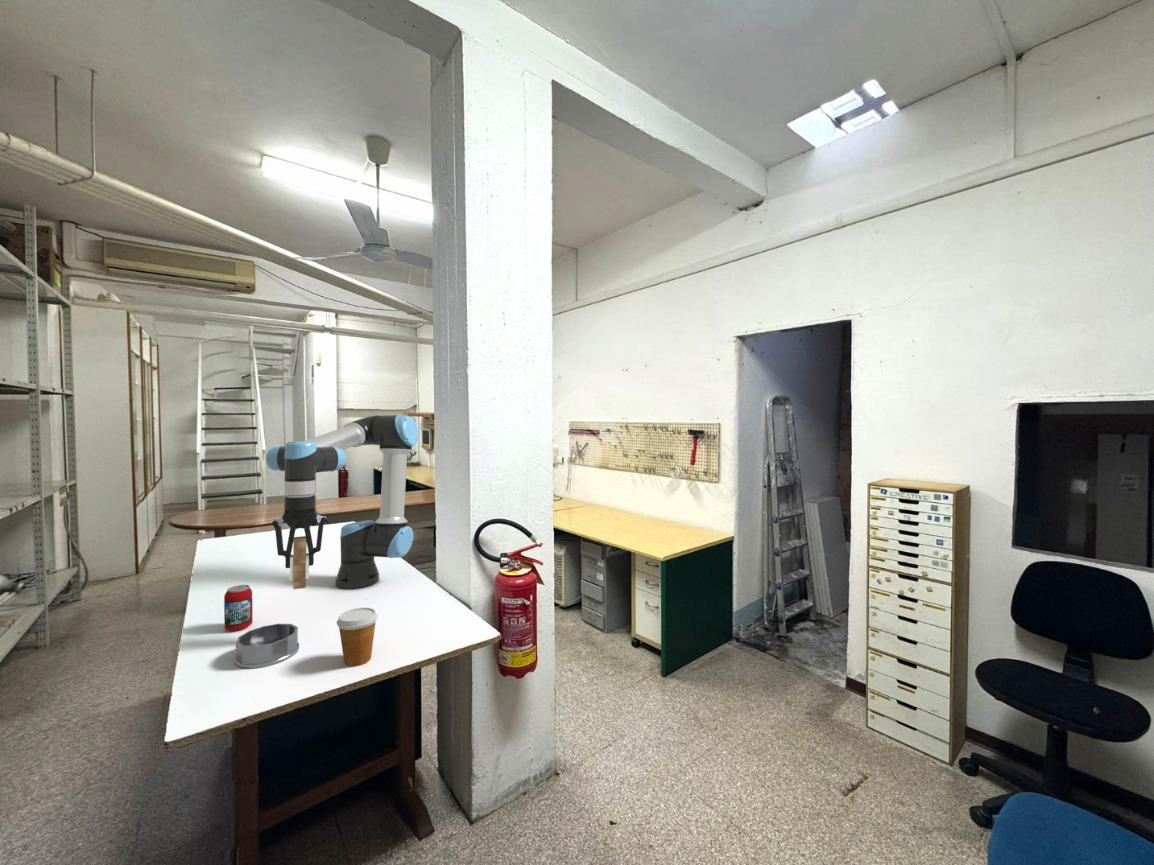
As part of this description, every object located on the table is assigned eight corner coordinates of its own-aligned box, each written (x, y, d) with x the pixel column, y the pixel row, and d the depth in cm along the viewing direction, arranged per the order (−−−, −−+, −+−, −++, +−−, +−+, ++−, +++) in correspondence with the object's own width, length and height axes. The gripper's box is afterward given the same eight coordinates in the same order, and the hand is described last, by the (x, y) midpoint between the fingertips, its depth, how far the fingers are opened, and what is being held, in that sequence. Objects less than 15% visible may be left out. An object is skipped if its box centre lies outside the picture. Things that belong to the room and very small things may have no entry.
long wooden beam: (306, 584, 131) (306, 536, 131) (305, 587, 128) (305, 538, 128) (294, 586, 129) (294, 537, 129) (293, 589, 127) (293, 539, 127)
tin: (300, 637, 129) (300, 619, 129) (296, 660, 117) (296, 640, 117) (240, 648, 123) (240, 629, 123) (229, 674, 110) (229, 652, 110)
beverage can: (222, 634, 131) (221, 593, 131) (227, 625, 137) (226, 586, 137) (250, 629, 134) (250, 589, 134) (254, 621, 140) (254, 582, 140)
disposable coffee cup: (346, 651, 122) (346, 607, 121) (383, 650, 122) (382, 606, 122) (330, 670, 112) (329, 622, 112) (370, 669, 113) (369, 621, 113)
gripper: (332, 492, 136) (331, 570, 136) (268, 495, 128) (267, 578, 128) (332, 495, 129) (331, 577, 129) (264, 499, 122) (263, 586, 122)
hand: (299, 577), depth 129 cm, fingers closed on long wooden beam, 3 cm apart
